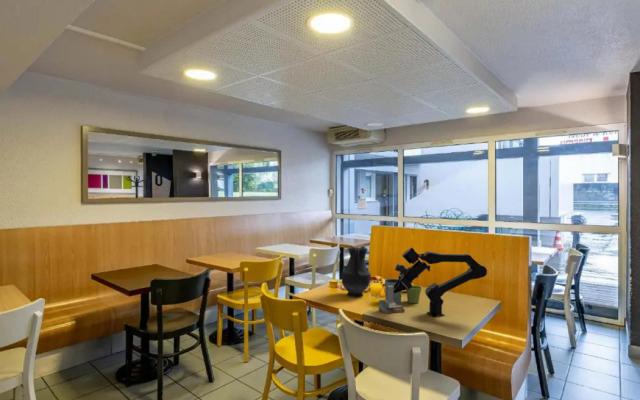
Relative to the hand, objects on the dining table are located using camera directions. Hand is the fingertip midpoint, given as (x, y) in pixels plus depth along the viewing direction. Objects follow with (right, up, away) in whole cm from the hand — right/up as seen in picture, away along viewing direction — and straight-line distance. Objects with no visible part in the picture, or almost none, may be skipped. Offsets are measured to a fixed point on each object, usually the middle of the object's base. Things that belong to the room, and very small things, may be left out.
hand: (393, 290), depth 190 cm
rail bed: (-1, -11, 0) cm, 11 cm away
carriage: (-2, -8, 0) cm, 8 cm away
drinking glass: (+4, -11, +19) cm, 23 cm away
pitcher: (-17, -11, +29) cm, 35 cm away
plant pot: (+15, -12, +19) cm, 27 cm away
